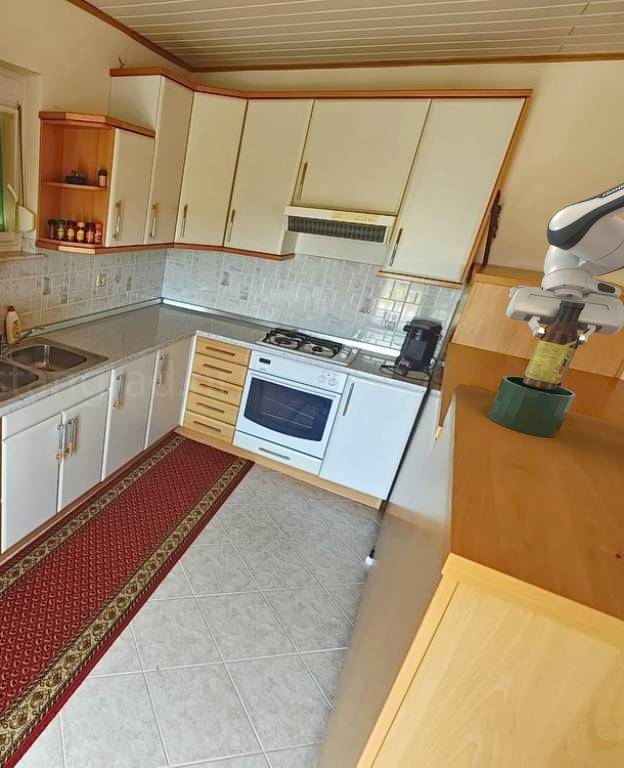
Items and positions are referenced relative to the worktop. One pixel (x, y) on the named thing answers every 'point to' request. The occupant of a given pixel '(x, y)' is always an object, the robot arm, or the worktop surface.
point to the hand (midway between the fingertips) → (559, 339)
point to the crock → (530, 407)
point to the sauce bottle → (554, 347)
